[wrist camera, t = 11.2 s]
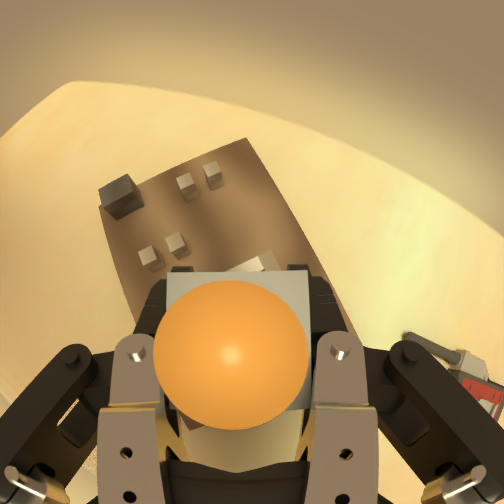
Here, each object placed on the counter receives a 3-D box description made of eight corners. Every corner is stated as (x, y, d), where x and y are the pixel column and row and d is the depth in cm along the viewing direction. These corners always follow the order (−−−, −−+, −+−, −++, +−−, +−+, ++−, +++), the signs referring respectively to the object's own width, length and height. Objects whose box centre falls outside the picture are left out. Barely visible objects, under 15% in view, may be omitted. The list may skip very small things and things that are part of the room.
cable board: (192, 425, 20) (180, 446, 15) (103, 211, 25) (81, 190, 20) (357, 345, 22) (381, 348, 17) (246, 144, 27) (246, 114, 22)
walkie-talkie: (502, 373, 21) (402, 324, 23) (525, 374, 17) (428, 323, 19) (477, 436, 19) (365, 409, 21) (499, 443, 14) (386, 423, 16)
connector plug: (210, 366, 14) (122, 454, 3) (209, 300, 15) (116, 236, 4) (278, 365, 14) (350, 456, 3) (276, 299, 15) (345, 231, 4)
